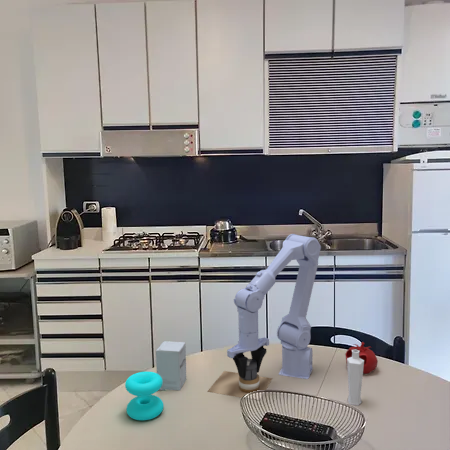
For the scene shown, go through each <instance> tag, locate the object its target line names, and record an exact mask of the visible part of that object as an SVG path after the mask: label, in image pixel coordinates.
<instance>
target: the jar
mask: <svg viewBox="0 0 450 450" xmlns="http://www.w3.org/2000/svg"><path fill="white" fill-rule="evenodd" d="M259 376H260V375H259V374H258V373H257V378H256V379H254V380H251V381H248V380H243V379H242V378H240V376H239V389H240V390H241V391H242V392H245V393H250V392H253V391H257V390H259Z"/></svg>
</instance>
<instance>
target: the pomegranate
mask: <svg viewBox="0 0 450 450" xmlns="http://www.w3.org/2000/svg"><path fill="white" fill-rule="evenodd" d="M364 345H365V342H364V341H362V342H361V343H360V346H359V345H358V344H356V343H355V344H353V346H351V347H349V348H348V349H347V350H346V352H345V354H344V355H345V360H346V361H345V363H346V365H347V358H350V357H352V350H355V349H356V350H359V351H360V352H359V358H361V359H362V360H364V367H363V374H367V375H368V374H371V372H373V371H375V370H377V369H376V368H377V366H378V362H379V360H378V358H377V356H376V353H375V352H374V351H373V350H371V349H370V346H366V347H365V346H364Z"/></svg>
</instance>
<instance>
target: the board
mask: <svg viewBox="0 0 450 450" xmlns="http://www.w3.org/2000/svg"><path fill="white" fill-rule="evenodd" d="M272 380H273V377H266V376H260V375H259V390H266V391H267V389H268V387H269V386H270V383H271V382H272ZM207 393H213V394H219V395H225V396H230V397H236V398H242V397H243V396H244V395H245V394H247V393H245V392H242V391H241V390H240V389H239V373H238V372H235V371H228V370H227V371H226V370H224V371H223V372H222V373H221V374H220V375H219V377H218V378H217V379H216V380H215V381H214V383H212V385H211V386H210V388H208V390H207ZM242 399H243V398H242Z"/></svg>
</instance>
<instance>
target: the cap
mask: <svg viewBox="0 0 450 450" xmlns="http://www.w3.org/2000/svg"><path fill="white" fill-rule="evenodd" d="M257 374H258V373H257V361H256V360H254V359H252V358H248V360H247V363H246V375H245V378H242V377H240V378H242V379H243V380H248V381H251V380H254V379H256V378H257Z"/></svg>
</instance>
